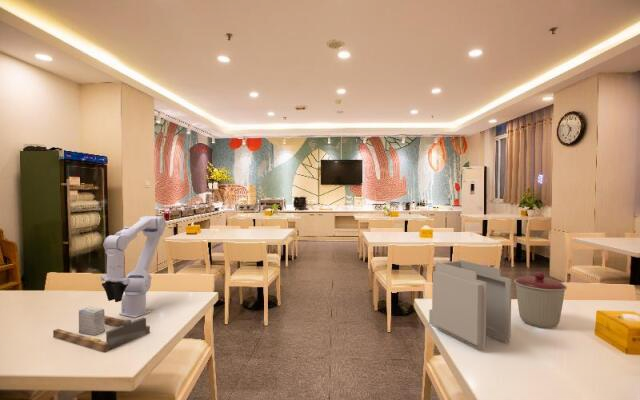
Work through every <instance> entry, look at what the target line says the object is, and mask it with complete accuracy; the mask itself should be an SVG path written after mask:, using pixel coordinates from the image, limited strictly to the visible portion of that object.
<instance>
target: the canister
mask: <svg viewBox="0 0 640 400" xmlns="http://www.w3.org/2000/svg"><path fill="white" fill-rule="evenodd" d="M513 282H514V284H515V289H516V298H517V306H518V313H519V317H520V319H521V320H522V321H523V322H524V323H526V324H527V325H530V326H533V327H537V328H544V329H545V328H547V329H553V328H556V327H557V326H559V324H560V320H561V315H562V309H563V305H564V297H565V292H566V290H567V289H568V286H567V285H566V284H564V283H563V282H560V281H558V280H557V279H552V278H548V277H546V275H545V273H544V272H540V271H536V272H535V273H534V276H532V275H531V276H529V275H528V276H527V275H525V276H519V277H518V278H515V279H514V280H513Z"/></svg>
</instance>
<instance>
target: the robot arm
mask: <svg viewBox="0 0 640 400" xmlns="http://www.w3.org/2000/svg"><path fill="white" fill-rule="evenodd" d="M138 218H139V219H138V221H137V222H135V223H134V224H133V225H132V226H124V227H123V228H122V229H121V230H119V231H117V232H116V233H115V234H114V235H111V234H110V235H108V236H107V237H106V238H105V239H104V242H103V243H102V244H103V248H104V252H105V255H106V274H104V275H100V282H102V283H101V286H102V288H103V289H104V291H105V295H106V297H107V301H108V302H110V301H114V302H115V303H118V302H121V312H120V313H119V315H120V316H124V317H129V318H133V319H134V318H138V317H140V316H144V315H146V314H148V313H151V310H148V309H147V298H146V297H147V293H148V292H149V290H150V288H151V285H152V284H151V283H152V275H150V273H149V269H150V267H151V264H152V261H153V258H154V255H155V253H156V250H157V248H158V245H159V242H160V239H161V237H162V236H163V235H164V231H165V229H166V226H167V223H166V217H164V216H163V215H160V216H159V215H142V216H141V217H138ZM140 232H142V234H143V236H145V237H146V239H145V240H146V241H145V242H144V245H143V247H142V249H141V252H140V254H139V258H138V261H137V263H136V265H135V268H134V269H133V270H132V271H129V272H128V273H127V275H126V276H125V275H124V274H125V250H127V248H128V246H129V243H130V242H132V241H133V240H134V239H135V238H137V237H138V234H139V233H140Z"/></svg>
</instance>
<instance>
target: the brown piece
mask: <svg viewBox="0 0 640 400" xmlns="http://www.w3.org/2000/svg"><path fill="white" fill-rule="evenodd" d="M104 317H105V325H107V326H112V327H115V328H112V329H110V330H107V331H106V332H105V333H106V337H105V338H106V339H105V340H106V341H103V340H101V339H99V338H96V337H90V336H89V337H88V336H85V335H81V334H79V333H74V332H70V331H68V330H65V329H61V328H57V329H53V333H52V334H53V335H52V336H53V338H55V339H58V340H62V341H65V342H67V343H72V344H75V345H78V346H82V347H85V348H88V349H92V350H95V351H98V352H102V353H106V352H109V351H111V350H114V349H117V348H118V347H120V346H122V345H124V344H128V343H129V342H132V341H134V340H136V339H139V338H141V337H144V336H146V335H148V334H150V332H151V331H150V330H151V329H150V328H151V327H150V325H147V318H146V317H142V318H141V317H140V318H139V319H135V320H134V321H132V319H125V320H124V319H122V318H121V319H120V318H117V317H112V316H108V315H104Z"/></svg>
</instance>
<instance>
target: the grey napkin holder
mask: <svg viewBox="0 0 640 400" xmlns="http://www.w3.org/2000/svg"><path fill="white" fill-rule="evenodd" d="M501 270H502V269H501V268H497V267H494V266H490V265H489V266H488V265H484V264H481V263H477V262H471V261H467V260H463V259H457V260H454V261H444V262H439V261H435V271H432V283H431V284H432V293H431V294H432V296H431V297H432V298H431V299H432V300H431V301H432V302H431V309H429V311H428V312H429V313H428V314H429V316H428V321H429V322H428V323H429V325H431V327H433V328H434V329H437V330H439V331H440V332H442V333H444V334H447V335H449V336H450V337H452V338H454V339H457V340H458V341H460V342H463V343H467V342H468V343H470V344H473V345H475V346H476V347H479V348H480V349H482V350H486V347H487V346H486V345H487V343H486V341H487V338H488V337H489V336H492V337H494V338H496V339H497V340H501V341H503V342H505V343H507V344H510V341H511V340H510V339H511V336H512V335H511V334H512V333H511V331H512V329H511V327H512V280H513V279H512V278H509V277H505V276H502V275H501V274H502V273H501V272H502V271H501Z"/></svg>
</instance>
